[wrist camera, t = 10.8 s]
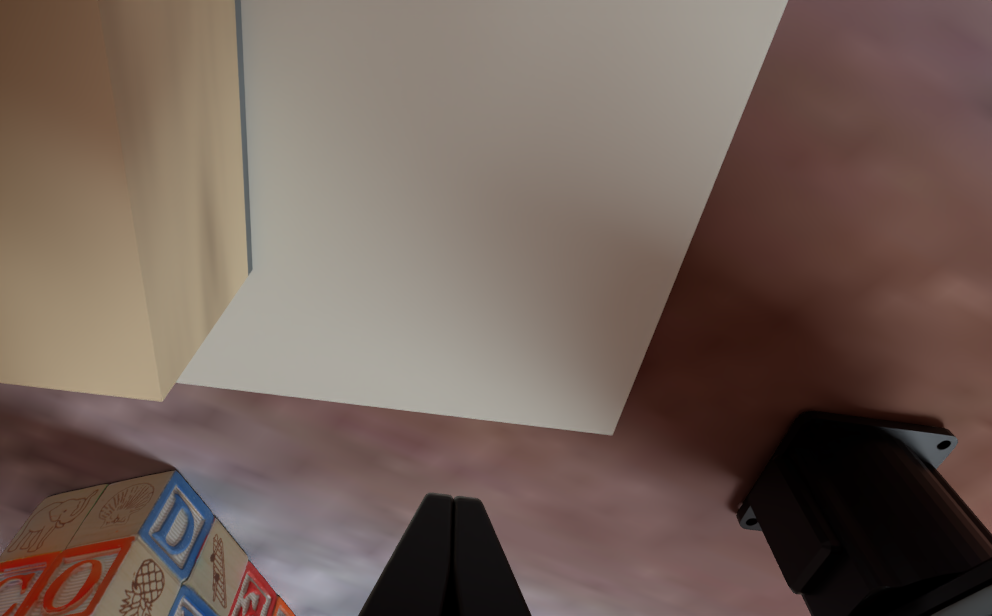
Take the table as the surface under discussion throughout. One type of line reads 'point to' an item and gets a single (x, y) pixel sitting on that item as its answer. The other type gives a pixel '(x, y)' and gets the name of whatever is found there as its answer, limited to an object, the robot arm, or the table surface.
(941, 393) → the table surface
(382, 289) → the rubber mat
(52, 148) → the beech block
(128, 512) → the stack of blocks
